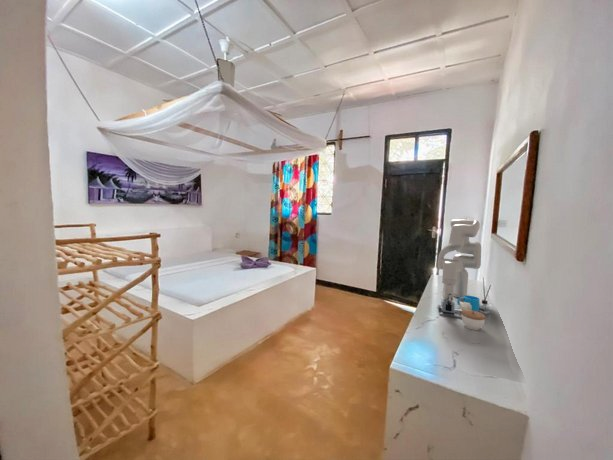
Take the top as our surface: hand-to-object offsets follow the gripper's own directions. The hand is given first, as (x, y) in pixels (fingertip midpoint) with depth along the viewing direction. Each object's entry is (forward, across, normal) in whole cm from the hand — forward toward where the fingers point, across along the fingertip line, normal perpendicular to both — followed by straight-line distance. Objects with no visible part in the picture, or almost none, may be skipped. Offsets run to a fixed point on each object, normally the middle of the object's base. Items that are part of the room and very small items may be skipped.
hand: (447, 308), depth 153 cm
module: (+1, 0, 0) cm, 1 cm away
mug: (+3, -12, +13) cm, 18 cm away
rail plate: (+3, 0, +4) cm, 5 cm away
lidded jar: (+3, +17, +10) cm, 20 cm away
